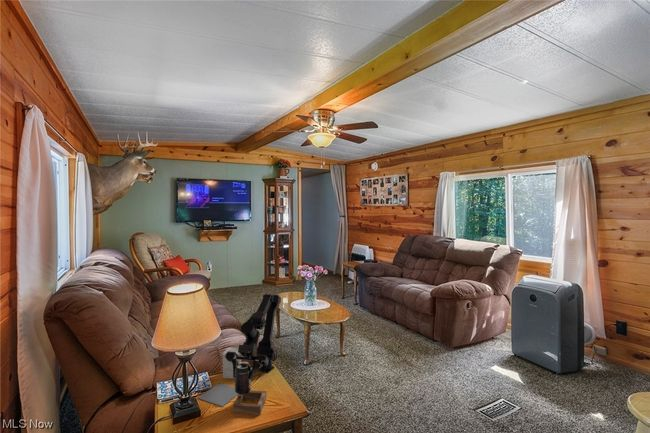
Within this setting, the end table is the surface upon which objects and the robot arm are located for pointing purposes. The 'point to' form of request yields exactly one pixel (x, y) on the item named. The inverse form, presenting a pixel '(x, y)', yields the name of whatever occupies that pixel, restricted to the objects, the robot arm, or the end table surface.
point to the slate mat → (219, 395)
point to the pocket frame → (250, 408)
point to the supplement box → (229, 364)
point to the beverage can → (242, 378)
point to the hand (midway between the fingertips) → (241, 378)
